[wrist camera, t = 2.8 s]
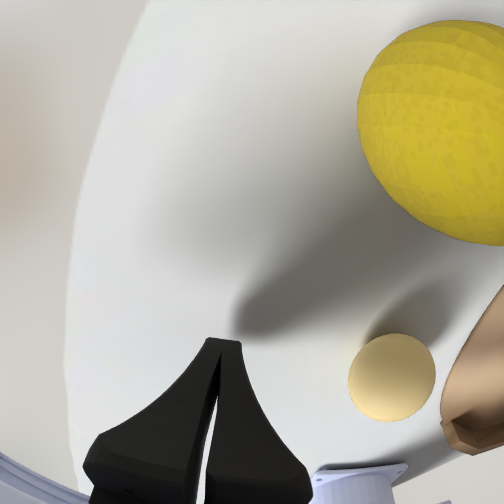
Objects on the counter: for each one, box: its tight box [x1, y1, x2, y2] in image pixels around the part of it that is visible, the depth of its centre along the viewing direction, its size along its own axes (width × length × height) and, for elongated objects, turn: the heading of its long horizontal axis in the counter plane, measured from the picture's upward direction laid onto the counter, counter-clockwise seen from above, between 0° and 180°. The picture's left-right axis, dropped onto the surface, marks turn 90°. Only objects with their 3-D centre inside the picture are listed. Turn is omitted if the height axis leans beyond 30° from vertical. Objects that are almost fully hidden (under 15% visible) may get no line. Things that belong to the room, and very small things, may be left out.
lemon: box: [357, 20, 504, 246], centre depth 6 cm, size 6×6×8 cm
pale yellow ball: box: [348, 333, 436, 422], centre depth 12 cm, size 4×4×4 cm
